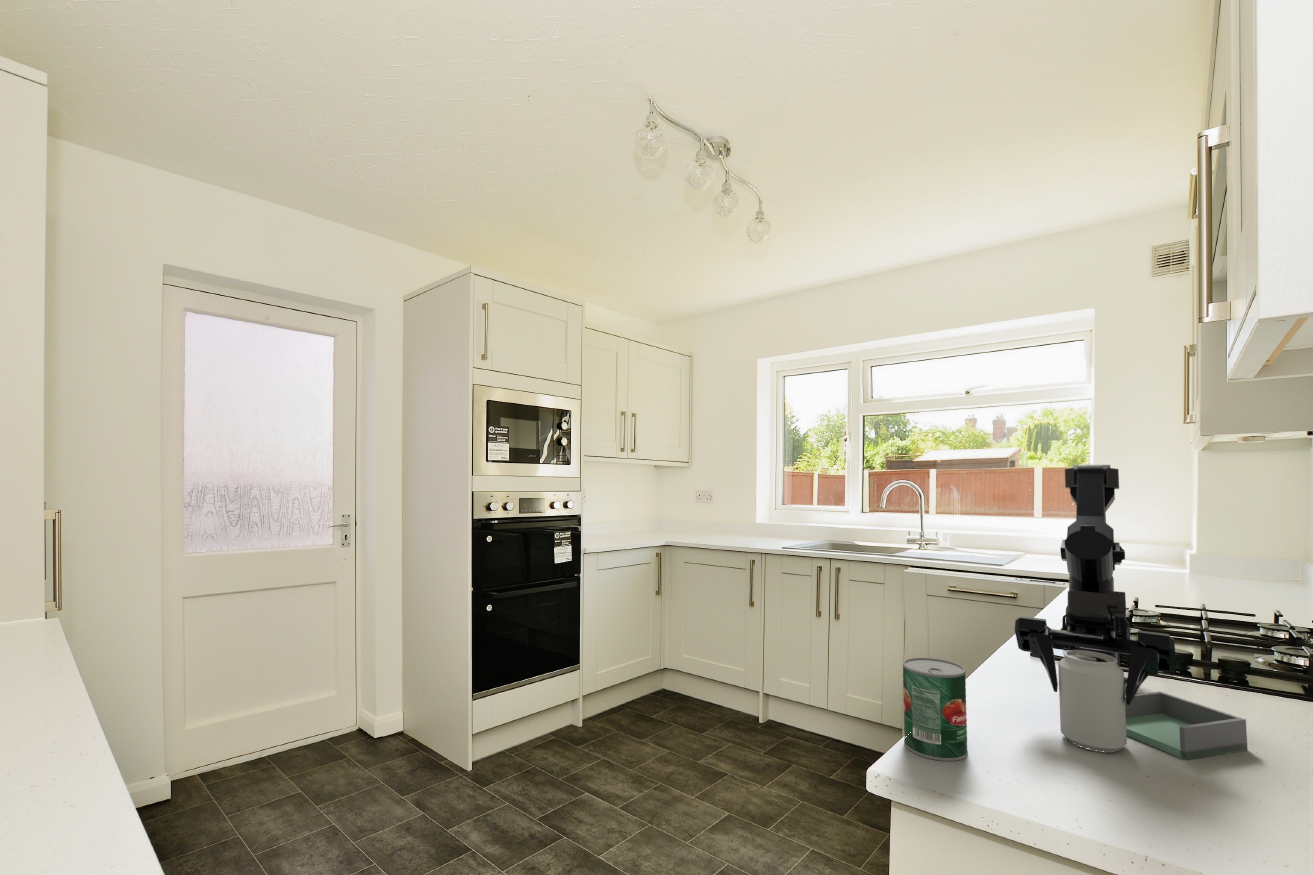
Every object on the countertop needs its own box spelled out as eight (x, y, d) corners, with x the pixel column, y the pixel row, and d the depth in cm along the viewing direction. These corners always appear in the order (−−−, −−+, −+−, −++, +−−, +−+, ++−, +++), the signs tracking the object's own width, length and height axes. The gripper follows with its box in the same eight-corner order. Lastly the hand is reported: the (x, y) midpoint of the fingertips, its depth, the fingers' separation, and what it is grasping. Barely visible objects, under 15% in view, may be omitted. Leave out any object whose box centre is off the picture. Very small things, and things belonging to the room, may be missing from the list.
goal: (1160, 718, 95) (1159, 691, 95) (1247, 749, 84) (1245, 719, 84) (1103, 725, 92) (1102, 698, 92) (1185, 759, 81) (1184, 728, 81)
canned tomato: (900, 733, 89) (899, 655, 90) (960, 739, 87) (958, 659, 88) (908, 757, 81) (906, 672, 82) (974, 764, 79) (971, 677, 80)
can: (1141, 755, 82) (1137, 663, 83) (1083, 754, 82) (1080, 662, 83) (1101, 731, 90) (1098, 647, 90) (1049, 731, 90) (1046, 646, 90)
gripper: (1014, 562, 96) (1005, 652, 87) (1171, 574, 85) (1180, 678, 75) (1022, 605, 102) (1015, 693, 92) (1170, 622, 91) (1179, 724, 81)
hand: (1090, 696), depth 85 cm, fingers open, 8 cm apart
